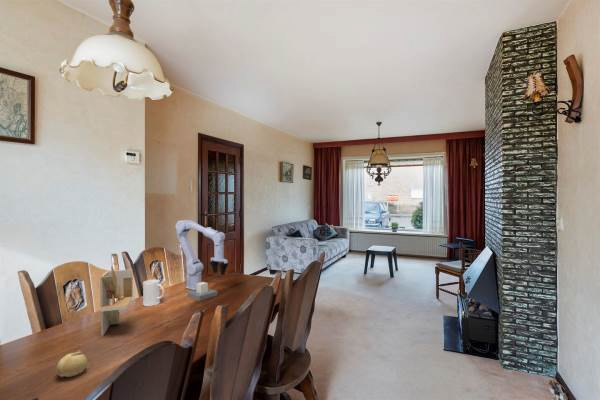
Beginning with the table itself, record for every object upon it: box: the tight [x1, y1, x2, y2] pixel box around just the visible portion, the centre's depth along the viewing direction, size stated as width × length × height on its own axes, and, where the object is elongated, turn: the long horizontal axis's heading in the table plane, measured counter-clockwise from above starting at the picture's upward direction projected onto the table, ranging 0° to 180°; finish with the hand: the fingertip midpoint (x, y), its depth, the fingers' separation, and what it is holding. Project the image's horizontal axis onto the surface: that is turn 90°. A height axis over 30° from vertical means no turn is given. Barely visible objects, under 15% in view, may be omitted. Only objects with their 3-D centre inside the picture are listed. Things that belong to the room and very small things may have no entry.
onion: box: [55, 350, 88, 379], centre depth 98 cm, size 8×8×7 cm
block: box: [196, 281, 209, 294], centre depth 178 cm, size 4×4×5 cm
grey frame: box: [99, 265, 134, 337], centre depth 132 cm, size 10×16×29 cm, turn 20°
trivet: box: [187, 288, 218, 301], centre depth 179 cm, size 12×12×2 cm
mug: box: [142, 279, 165, 307], centre depth 165 cm, size 12×8×12 cm
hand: (219, 273), depth 192 cm, fingers open, 7 cm apart
